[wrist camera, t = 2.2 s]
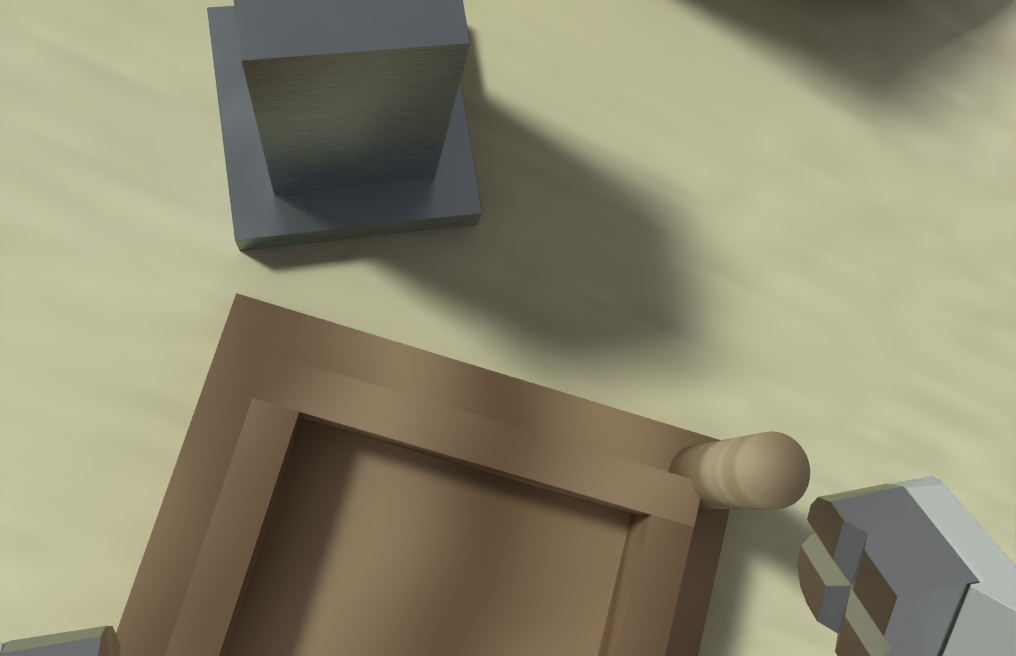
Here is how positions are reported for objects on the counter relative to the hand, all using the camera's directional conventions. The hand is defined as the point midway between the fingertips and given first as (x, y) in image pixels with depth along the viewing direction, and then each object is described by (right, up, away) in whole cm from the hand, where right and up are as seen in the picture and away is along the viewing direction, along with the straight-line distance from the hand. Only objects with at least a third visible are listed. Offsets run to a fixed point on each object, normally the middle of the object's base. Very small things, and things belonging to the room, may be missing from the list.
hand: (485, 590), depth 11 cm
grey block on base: (-5, +9, +18) cm, 20 cm away
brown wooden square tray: (-2, -6, +15) cm, 16 cm away
